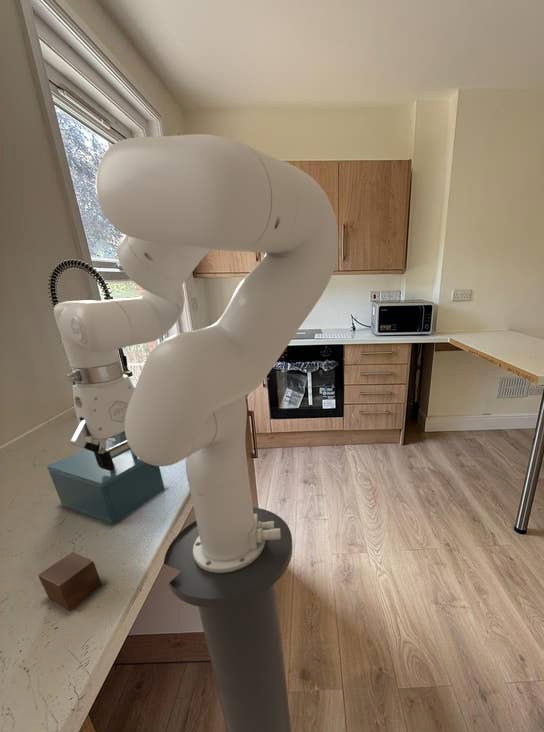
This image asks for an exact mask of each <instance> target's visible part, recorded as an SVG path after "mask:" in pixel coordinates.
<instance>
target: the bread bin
mask: <svg viewBox="0 0 544 732" xmlns="http://www.w3.org/2000/svg"><path fill="white" fill-rule="evenodd" d="M48 472H49V475H50V477H51V480H52V483H53V485H54V488H55V491H56V493H57V496H58V499H59V501H60V504H61V506H62V507H65V508H67V509H70V510H72V511H74V512H77V513H81V514H83V515H86V516H88V517H91V518H93V519H96V520H99V521H102V522H103V523H107V524H110V525H111V526H113V525H115V524H116V523H118V522H120V521H121V520H123V519H124V518H126V517H127V516H128V515H130V514H131V513H133V512H134V511H135V510H137V509H138V508H141V506H143V505H144V504H146V503H147V502H149V501H150V500H151V499H153V498H155V497H156V496H157V495H159V494H160V493H162V492H163V491H165V485H164V481H163V477H162V473H161V468H160V466H154V465H150V464H147V463H145V464H143V465H141V466H140V467H138V468H136V469H134V470H132V471H131V472H129V473H127V474H125V475H124V476H122V477H120V478H118V479H117V480H115V481H113V482H111V483H110V484H108V485H106V486H104V487H101V486H98V485H95V484H92V483H89V482H86V481H83V480H79V479H76V478H73V477H70V476H67V475H64V474H61V473H58V472H55V471H52V470H49V469H48Z"/></svg>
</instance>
